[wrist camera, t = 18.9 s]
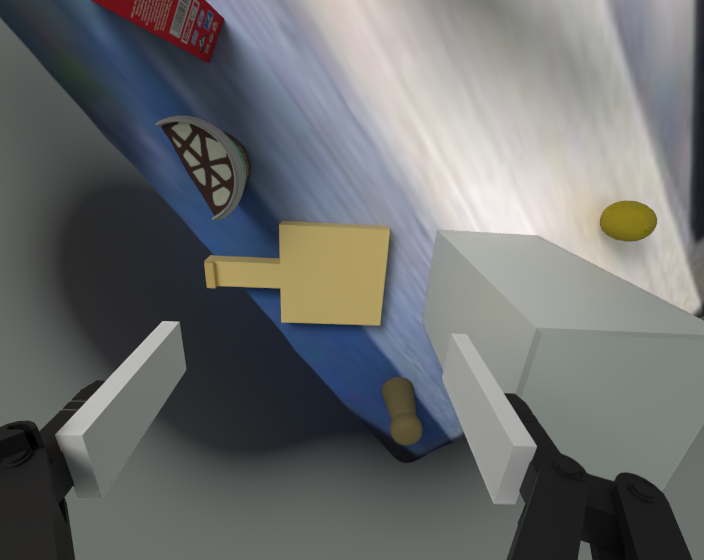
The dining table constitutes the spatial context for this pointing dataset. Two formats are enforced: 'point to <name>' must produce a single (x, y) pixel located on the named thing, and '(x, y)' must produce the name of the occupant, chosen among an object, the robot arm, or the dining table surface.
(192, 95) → the dining table surface
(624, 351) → the tall white upright box
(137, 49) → the dining table surface
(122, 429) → the robot arm
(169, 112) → the dining table surface
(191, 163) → the food container
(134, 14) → the food packaging
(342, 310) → the paddle
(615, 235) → the lemon
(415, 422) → the cork
